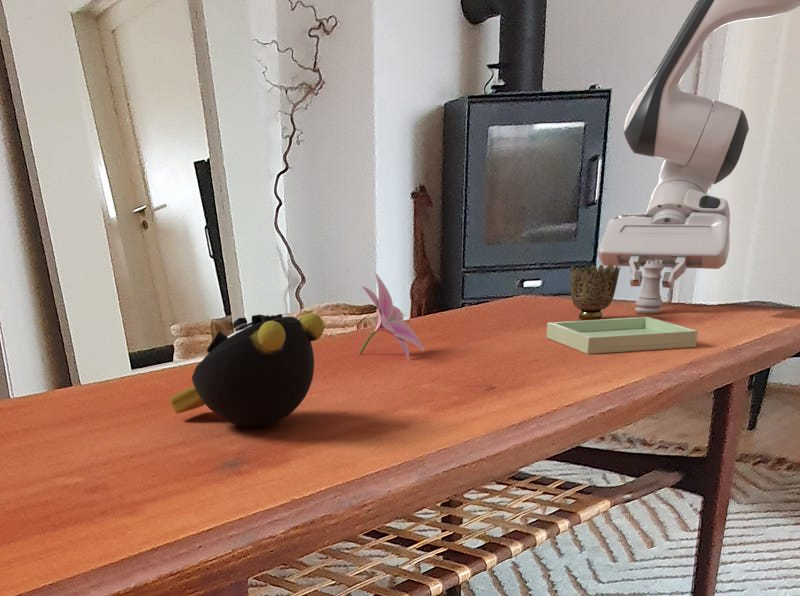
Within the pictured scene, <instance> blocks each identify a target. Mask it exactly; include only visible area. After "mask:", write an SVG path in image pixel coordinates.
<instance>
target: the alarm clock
mask: <svg viewBox="0 0 800 596" xmlns="http://www.w3.org/2000/svg"><path fill="white" fill-rule="evenodd" d="M232 327H233V329H234V330H235V331H234V332H232V333H231V334H229V335H226V334H225V333H223V332H222V331H220V330H219V331H218V332H217V334H216V335H215V336H214V338H213V339H212V340H211V342H210V344H209V345H208V347H207V349H206V352H207V354H206V355H205V356H204V358H203V359H202V360H201V361H200V362H199V363H198V364H197V365H196V366H195V368H194V370H193V374H192V375H191V380H192V384H193V386H191V387H189V388H186V389H184V390H183V391H181V392H179V393H176V394H175V395H173V396H171V397H169V403H170V406H171V408H172V410H173V411H174V412H175V413H176V414H182V413H186V412H188V411H192V410H196V409H199V408H201V407H204V406H206V407H207V409H209V410H210V411H212V413H214V414H215V415H217V417H219V418H221V419H222V420H224V421H227V422H228V423H231V424H234V425H237V426H241V427H248V428H249V427H252V428H253V427H263V426H268V425H272V424H275V423H277V422H279V421H281V420H283V419H285V418H287V417H288V416H289V415H290V414H292V413H293V412H294V411H295V410H297V408H298V407H299V406H300V405H301V404H302V402H303V401H304V399H305V398H306V397H307V395H308V393H309V391H310V388H311V385H312V382H313V378H314V372H315V356H314V348H313V344H312V342H314V341H318V340H319V339H320V338H321V337H322V336H323V334H324V331H325V325H324V320H323V319H322V318H321V316H320V315H319V314H317V313H314V312H310V313H304V314H303V315H302V316H301V317H300V319H298V318H297V317H295V316H283V315H282V313H279V314H276V315H275V314H272V315H270V314H267V315H264V314H254V315H251V322H248V319H247V318H246V317H238V318H237V319H236V320H235V321H234V322H232Z"/></svg>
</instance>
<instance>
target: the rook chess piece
mask: <svg viewBox="0 0 800 596" xmlns="http://www.w3.org/2000/svg"><path fill="white" fill-rule="evenodd" d="M662 263H663V260H659V261H658V260H655V262H654V261H652V260H646V264H645V265H644V266H643V267H642V268H643V269H644V275H642V276H643V285H642V289H641V292H640V294H639V296H638V299H637V300H636V301H635V305H636V307H635V308H634V311H635V313H636V314H639V313H641V314H640V315H658V313H659V314H661V313H662V312H663V311H664V309H663V308H662V306H663V305H664V301H663V299H661V298H662V296H661V290H660V289H661V287H660V286H661V285H660V283H661V278H663V277H662V274H661V273H662V271H663V269H664V268H665V267H664V265H663V264H662Z"/></svg>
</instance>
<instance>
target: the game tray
mask: <svg viewBox="0 0 800 596" xmlns="http://www.w3.org/2000/svg"><path fill="white" fill-rule="evenodd" d="M698 332H699V330H696V329H692V328H689V327H686V326H682V325H678V324H676V323H671V322H667V321H664V320H661V319H657V318H654V317H650V316H639V317H638V316H636V317H619V318H603V319H602V318H601V319H600V320H584V321H583V320H569V321H552V322H547V324H546V336H545V337H546V339H549V340H551V341H553V342H555V343H556V342H557V343H559V344H561V345H563V346H565V347H566V346H567V347H569V348H571V349H574V350H577V351H579V352H581V353H584V354H586V355H593V354H594V355H595V354H608V353H609V354H610V353H622V352H623V353H627V352H639V351H641V352H642V351H654V350H655V351H656V350H670V349H685V348H686V349H687V348H696V347H697V340H698Z"/></svg>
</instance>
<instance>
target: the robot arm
mask: <svg viewBox="0 0 800 596" xmlns="http://www.w3.org/2000/svg"><path fill="white" fill-rule="evenodd" d="M799 7H800V0H697V1H696V2H695V4H694V6H693V8H692V9H691V10H690V12H689V14H688V15H687V17H686V18H685V20H684V22H683V23H682V26H681V28H680V29H679V30H678V32H677V34H676V36H675V38H674V39H673V41H672V43H671V44H670V46H669V48H668V49H667V51H666V53H665V55H664V57H663V58H662V60H661V62H660V63H659V65H658V67H657V68H656V70H655V72H654V73H653V75H652V76H651V78H650V80H649V82H648V83H647V84H646V86H645V87H644V88H643V90H642V91H641V92H640V93H639V95H638V96H636V99H635V101H633V103H632V105H631V107H630V109H629V111H628V113H627V116H626V118H625V123H624V130H623V136H624V137H625V140H626V142H627V145H628V146H629V148H630V149H631V151H632V152H633V154H636V155H640V156H645V157H650V158H658V159H661V160H663V163H662V166H661V169H660V171H659V173H658V174H659V175H658V184H657V185H656V187H655V188H654V189H653V192H652V194H651V198H650V200H649V203H648V206H647V209H646V212H645V213H632V214H628V213H621V214H619V215H618V216H615V217H613V218H611V219H609V221H608V222H607V225H606V227H605V231H604V235H603V236H602V238H601V240H600V243H599V244H598V249H597V252H598V257H599V258H598V259H599V260H600V263H601V265H603V266H604V267H605V266H606V267H607V266H609V265H610V264H611V265H612V266H614V267H616V266H618V267H629V271H630V273H631V275H630V278H629V284H630V287H641V286H642V283H643V281H644V277H643V276H644V275H643V272H642V271H640V269H641V268H643V266H644V265H645V264H646V260H652V261H654V262H655V260H658V261H659V260H663V263H662V264H663V265H664V268H672V270H670V272H669V271H667V272H666V271H665V272H663V273H664V274H663V277H662V280H661V284H662V288H664V289H665V288H666V289H672V288H673V287H674V285H675V281H676V280H678V279H679V278H680V277H681V276H682V275H683V274H685V273H686V270H687V269H711V270H718V269H720V268H722V267H724V266H725V265H726V264H727V261H728V257H729V252H730V244H731V243H730V241H731V240H730V226H731V225H730V224H731V214H730V212H731V211H730V206H729V201H728V200H727V199H725V198H722V197H718V196H714V195H711V194H709V192H710V191H711V190H712V187H713V185H717V184H719V183H720V182H721V181H723V180H724V179H726V178H728V176H730V175H731V174H732V172H733V171H734V170H735V168H736V166H737V164H738V162H739V160H740V158H741V155H742V152H743V149H744V145H745V142H746V138H747V135H748V133H749V131H750V127H749V122H748V119H747V116H746V114H745V111H744V110H743V109H741V108H739V107H737V106H734V105H731V104H728V103H725V102H722V101H719V100H717V99H710V98H707V97H704V96H701V95H697V94H694V93H691V92H688V91H685V90H682V89H681V88H680V86H679V84H680V83H681V80H682V79H683V78H684V76H685V74H686V72H687V71H688V69H689V68H690V66H691V64H692V63H693V61H694V60H695V57H696V56H697V55H698V53H699V52H700V50H701V48H702V46H703V45H704V43H705V42H706V40H707V39H708V37H709V36H711V34H712V33H713V32H715V31H716V30H717V29H719V28H721V27H723V26H725V25H728V24H731V23H735V22H739V21H740V22H741V21H746V20H747V21H748V20H756V19H764V18H772V17H777V16H780V15H783V14H786V13H789V12H791V11H793V10H796V9H797V8H799Z"/></svg>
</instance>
